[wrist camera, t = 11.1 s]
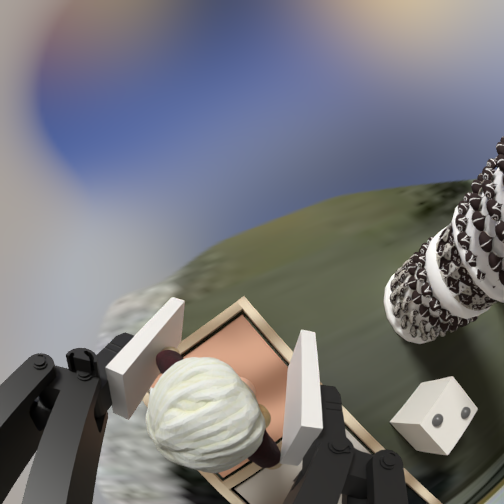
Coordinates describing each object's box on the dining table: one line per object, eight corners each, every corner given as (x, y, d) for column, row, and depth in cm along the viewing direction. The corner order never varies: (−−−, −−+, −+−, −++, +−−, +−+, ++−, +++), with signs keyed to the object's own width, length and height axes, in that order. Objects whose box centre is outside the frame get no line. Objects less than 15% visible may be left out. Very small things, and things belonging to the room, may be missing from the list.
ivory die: (445, 411, 19) (482, 408, 14) (416, 450, 18) (451, 455, 13) (420, 382, 21) (456, 375, 16) (389, 422, 19) (423, 424, 14)
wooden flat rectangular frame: (453, 515, 12) (456, 516, 12) (369, 589, 8) (371, 591, 7) (244, 298, 25) (244, 296, 24) (130, 379, 21) (128, 378, 20)
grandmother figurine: (296, 410, 16) (388, 427, 5) (263, 456, 14) (293, 550, 3) (200, 347, 18) (128, 258, 7) (166, 390, 16) (44, 363, 5)
